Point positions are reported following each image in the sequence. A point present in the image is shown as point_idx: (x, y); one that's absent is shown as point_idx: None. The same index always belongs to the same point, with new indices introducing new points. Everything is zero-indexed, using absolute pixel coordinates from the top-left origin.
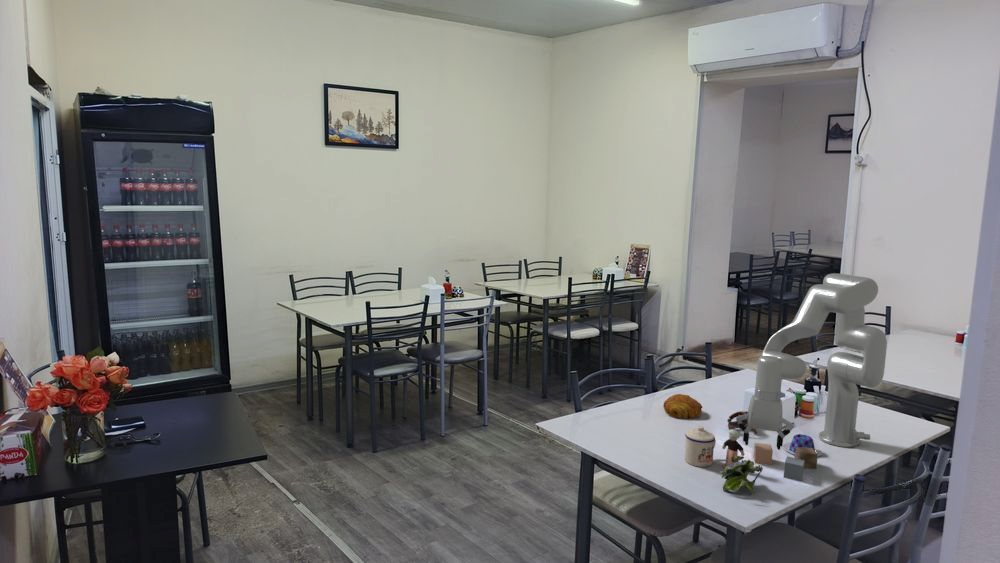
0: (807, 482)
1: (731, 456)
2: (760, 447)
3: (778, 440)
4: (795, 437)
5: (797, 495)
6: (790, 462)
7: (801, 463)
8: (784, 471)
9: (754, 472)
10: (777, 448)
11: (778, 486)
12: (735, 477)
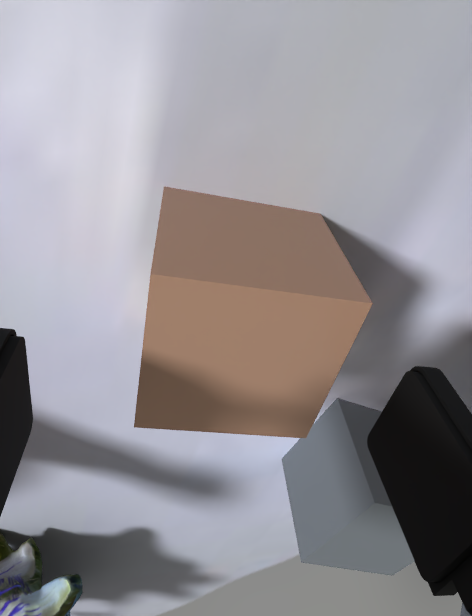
0: None
1: None
2: (196, 396)
3: (410, 543)
4: None
5: (267, 558)
6: (339, 559)
7: (408, 557)
8: (290, 496)
9: (80, 592)
10: (371, 433)
11: (213, 525)
12: None
